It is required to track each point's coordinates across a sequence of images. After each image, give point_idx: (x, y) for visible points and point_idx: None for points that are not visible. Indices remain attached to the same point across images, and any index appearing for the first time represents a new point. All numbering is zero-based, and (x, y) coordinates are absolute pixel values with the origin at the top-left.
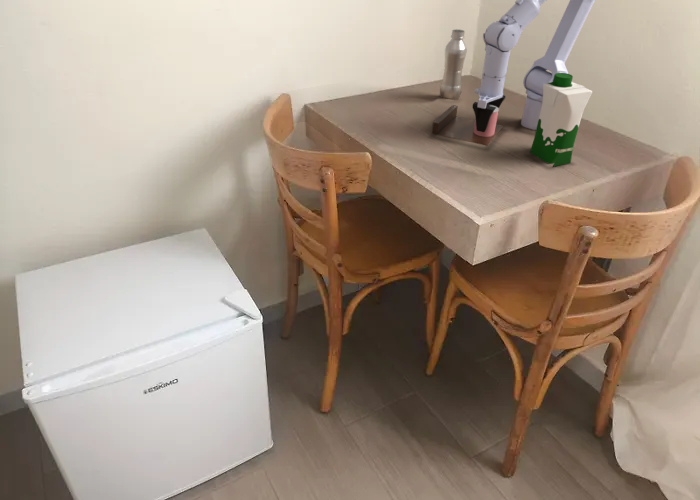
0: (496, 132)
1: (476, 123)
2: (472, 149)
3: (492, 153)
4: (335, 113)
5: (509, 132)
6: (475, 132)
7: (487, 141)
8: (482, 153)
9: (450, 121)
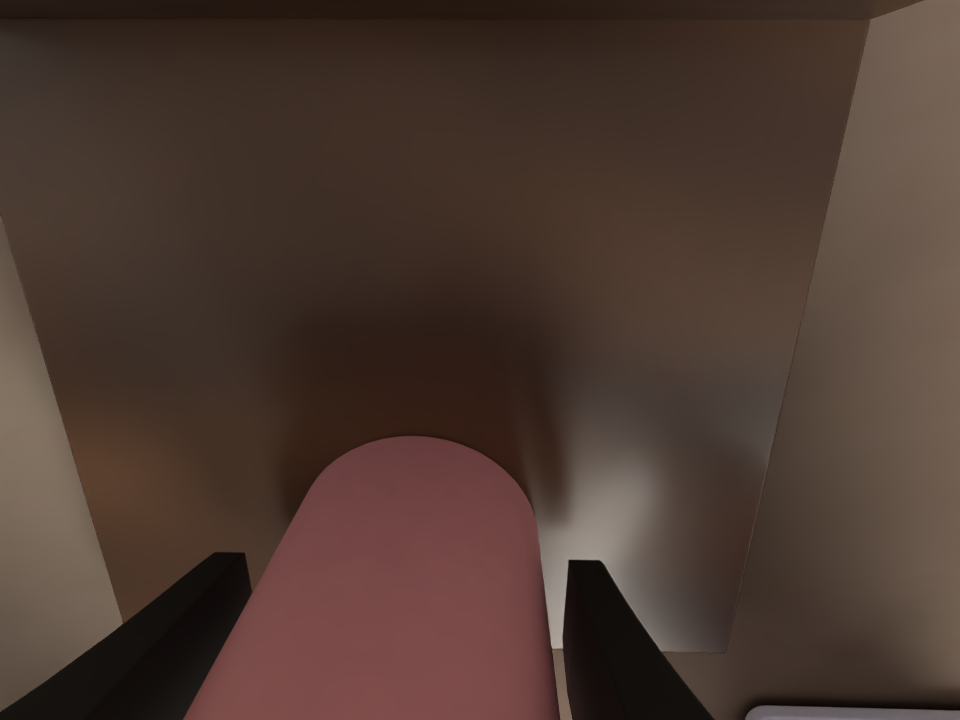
0: None
1: (125, 623)
2: (71, 499)
3: None
4: None
5: (678, 666)
6: (311, 488)
7: None
8: (63, 588)
9: (572, 17)
